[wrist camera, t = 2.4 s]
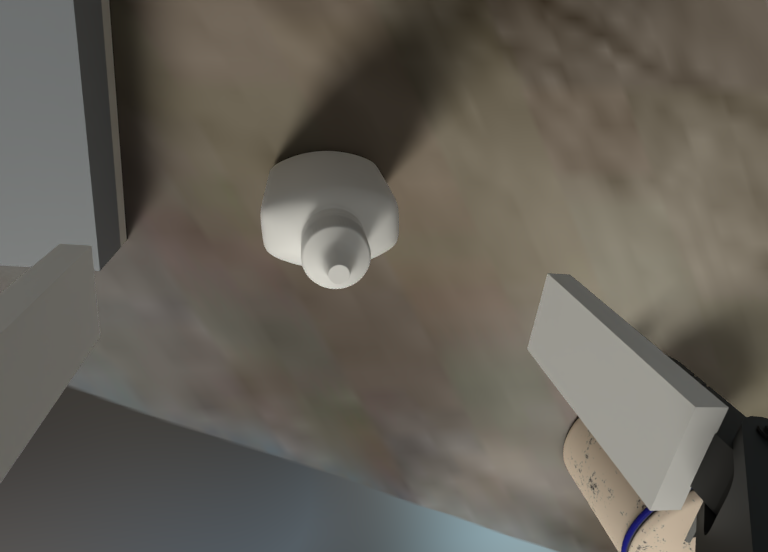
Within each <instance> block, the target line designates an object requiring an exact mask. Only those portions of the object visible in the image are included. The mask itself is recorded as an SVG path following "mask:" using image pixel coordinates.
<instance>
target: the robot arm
mask: <svg viewBox="0 0 768 552" xmlns="http://www.w3.org/2000/svg"><path fill="white" fill-rule="evenodd" d="M99 338H100V326H99V316H98V306H97V296H96V286H95V276H94V266H93V256H92V246H87V245H71V244H59V245H58V246H56V247H55V248H54V249H53V250H52V251H50V252H49V253H48V254H47V255H46V256H44V257H43V258H42V259H41V260H40V261H38V262H37V263H36V264H35V265H34V266H32V267H31V268H30V269H29V270H28V271H26V272H25V273H24V274H23V275H22V276H20V277H19V278H18V279H17V280H15V281H14V282H13V283H12V284H11V285H9V286H8V287H7V288H6V289H5V290H3V291H2V292H1V293H0V483H1V482H2V480H3V479H4V477H5V476H6V474H7V473H8V471H9V470H10V468H11V467H12V466H13V464H14V463H15V461H16V460H17V458H18V457H19V455H20V454H21V452H22V451H23V449H24V448H25V446H26V445H27V444H28V442H29V441H30V439H31V438H32V436H33V435H34V433H35V432H36V430H37V429H38V427H39V426H40V424H41V423H42V422H43V420H44V419H45V417H46V416H47V414H48V413H49V411H50V410H51V408H52V407H53V405H54V404H55V402H56V401H57V399H58V398H59V397H60V395H61V394H62V392H63V391H64V389H65V388H66V386H67V385H68V383H69V382H70V380H71V379H72V377H73V376H74V374H75V373H76V372H77V370H78V369H79V367H80V366H81V364H82V363H83V361H84V360H85V358H86V357H87V355H88V354H89V352H90V351H91V349H92V348H93V347H94V345H95V344H96V342H97V341H98V339H99ZM527 349H528V351H529V352H530V353H531V355H532V356H533V357H534V359H535V360H536V361H537V363H538V364H539V365H540V367H541V368H542V369H543V371H544V372H545V373H546V374H547V376H548V377H549V378H550V380H551V381H552V382H553V384H554V385H555V386H556V388H557V389H558V390H559V392H560V393H561V394H562V396H563V397H564V398H565V399H566V401H567V402H568V403H569V405H570V406H571V407H572V409H573V410H574V411H575V413H576V414H577V415H578V417H579V418H580V419H581V421H582V422H583V423H584V424H585V426H586V427H587V428H588V430H589V431H590V432H591V434H592V435H593V436H594V438H595V439H596V440H597V442H598V443H599V444H600V446H601V447H602V448H603V449H604V451H605V452H606V453H607V455H608V456H609V457H610V459H611V460H612V461H613V463H614V464H615V465H616V467H617V468H618V469H619V471H620V472H621V473H622V475H623V476H624V477H625V478H626V480H627V481H628V482H629V484H630V485H631V486H632V488H633V489H634V490H635V492H636V493H637V494H638V496H639V497H640V498H641V500H642V501H643V502H644V503H645V505H646V506H647V507H648V509H649V510H650V511H661V510H681V508H682V506H683V504H684V502H685V500H686V498H687V496H688V493H689V491H690V489H691V488H692V489H693V490H694V491H695V492H696V493H697V495H698V496H699V497H700V498H701V499H702V500H703V503H702V505H701V507H700V509H699V511H698V513H697V515H696V517H695V519H694V521H693V523H692V525H691V528H690V530H689V532H688V534H687V536H686V538H685V540H684V541H686V542H688V543H690V542H691V541H692V539H693V538H694V537H696V545H695V552H768V419H767V418H763V417H755V416H750V417H745V416H744V415H743V414H742V413H740V412H739V411H738V410H737V409H736V408H734V407H733V406H732V405H731V404H730V403H728V402H727V401H726V400H725V399H723V398H722V397H721V396H720V395H719V394H717V393H716V392H715V391H714V390H713V389H711V388H710V387H706V384H705V383H704V382H703V381H702V380H700V379H699V378H698V377H694V374H693V373H692V372H691V371H690V370H688V369H687V368H686V367H685V366H684V365H682V364H681V363H680V362H678V361H677V360H675V359H673V358H671V357H669V356H667V355H666V354H664V353H663V352H662V351H661V350H659V349H658V348H657V347H656V346H655V345H653V344H652V343H651V342H650V341H649V340H647V339H646V338H645V337H644V336H643V335H641V334H640V333H639V332H638V331H637V330H636V329H634V328H633V327H632V326H631V325H630V324H628V323H627V322H626V321H625V320H624V319H622V318H621V317H620V316H619V315H618V314H616V313H615V312H614V311H613V310H612V309H610V308H609V307H608V306H607V305H606V304H604V303H603V302H602V301H601V300H600V299H598V298H597V297H596V296H595V295H594V294H593V293H591V292H590V291H589V290H588V289H587V288H585V287H584V286H583V285H582V284H581V283H579V282H578V281H577V280H576V279H575V278H573V277H572V276H571V275H567V274H550V273H548V274H547V278H546V281H545V285H544V289H543V293H542V296H541V300H540V304H539V307H538V311H537V315H536V318H535V322H534V326H533V330H532V333H531V337H530V341H529V344H528V348H527Z"/></svg>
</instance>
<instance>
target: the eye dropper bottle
mask: <svg viewBox="0 0 768 552" xmlns="http://www.w3.org/2000/svg"><path fill="white" fill-rule="evenodd" d="M260 214H261V227H262V236H263V242H264V246H265V248H266V250H267V251H268V252H269V253H270V254H271V255H273V256H275V257H277V258H279V259H282V260H284V261H287V262H290V263H294V264H297V265H302V266H303V268H304V271H305V272H306V274H307V275H308V277H310V279H311V280H312V281H313V282H315V283H316V284H318V285H321V287H325V288H328V289H329V288H331V289H337V288H338V289H340V288H342V289H343V288H346V287H350V285H353V284H355V283H356V282H358V281H359V280H360V279H361V277H364V276H363V275H364V274H366V273H365V272H366V271H367V269H368V268H369V265H370V262H371V260H370V259H372V258H374V257H377V256H379V255H381V254H382V253H384V252H386V251H388V250H389V249H391V248H392V247H393V246H394V245H395V244H396V242H397V239H398V234H399V212H398V205H397V202H396V199H395V197H394V195H393V193H392V191H391V190H390V188H389V186H388V184H387V183H386V181H385V179H384V178H383V176H382V174H381V173H380V171H379V169H378V168H377V166H376V165H375V164H374V163H373V162H372V161H370V160H368V159H366V158H363V157H360V156H357V155H354V154H350V153H345V152H338V151H315V152H309V153H304V154H300V155H296V156H293V157H291V158H288V159H286V160H283V161H281V162H279V163H277V164H276V165H274V166H273V167H272V168H271V170H270V172H269V176H268V180H267V184H266V189H265V193H264V197H263V202H262V207H261V213H260Z"/></svg>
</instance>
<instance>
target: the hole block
mask: <svg viewBox="0 0 768 552" xmlns="http://www.w3.org/2000/svg"><path fill="white" fill-rule="evenodd" d="M126 241H127V236H126V222H125V208H124V195H123V181H122V168H121V154H120V141H119V127H118V114H117V100H116V87H115V73H114V60H113V46H112V33H111V19H110V6H109V0H0V265H3V266H21V267H32V266H34V265H35V264H36V263H37V262H38V261H40V260H41V259H42V258H43V257H44V256H46V255H47V254H48V253H49V252H50V251H52V250H53V249H54V248H55V247H56V246H58V245H59V244H71V245H87V246H92V256H93V266H94V271H100V270H101V269H102V268H103V267H104V266H105V264H106V263H107V262H108V261H109V260H110V259H111V258H112V257H113V255H114V254H115V253H116V252H117V251H118V250H119V249H120V247H121V246H122V245H123V244H124V243H125V242H126Z"/></svg>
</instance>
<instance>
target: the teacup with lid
mask: <svg viewBox="0 0 768 552" xmlns="http://www.w3.org/2000/svg"><path fill="white" fill-rule="evenodd" d="M563 456H564V462H565V465H566V467H567V469H568V471H569V473H570V474H571V476H572V477H573V479H574V481H575V482H576V484H577V486H578V487H579V489H580V490H581V492H582V494H583V495H584V497H585V498H586V500H587V502H588V503H589V505H590V507H591V508H592V510H593V511H594V513H595V515H596V516H597V518H598V519H599V521H600V523H601V524H602V526H603V527H604V529H605V531H606V532H607V534H608V536H609V537H610V539H611V540H612V542H613V544H614V545H615V547H616V548H617V550H618V552H695V545H696V537H694V538H693V539H692V541H691V542H690V543H688V542H686V541H684V540H685V538H686V536H687V534H688V532H689V530H690V528H691V525H692V523H693V521H694V519H695V517H696V515H697V513H698V511H699V509H700V507H701V505H702V503H703V500H702V499H701V498H700V497H699V496H698V495H697V493H696V492H695V491H694V490H693V489H692V488H691V489H690V491H689V493H688V496H687V498H686V500H685V502H684V504H683V506H682V508H681V510H661V511H650V510H649V509H648V507H647V506H646V505H645V503H644V502H643V501H642V500H641V498H640V497H639V496H638V494H637V493H636V492H635V490H634V489H633V488H632V486H631V485H630V484H629V482H628V481H627V480H626V478H625V477H624V476H623V475H622V473H621V472H620V471H619V469H618V468H617V467H616V465H615V464H614V463H613V461H612V460H611V459H610V457H609V456H608V455H607V453H606V452H605V451H604V449H603V448H602V447H601V446H600V444H599V443H598V442H597V440H596V439H595V438H594V436H593V435H592V434H591V432H590V431H589V430H588V428H587V427H586V426H585V424H584V423H583V422H582V421H581V419H580V418H578V419H577V420H576V422H575V423H574V424H573V426H572V427H571V429H570V430H569V432H568V434H567V437H566V440H565V443H564V449H563Z"/></svg>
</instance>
